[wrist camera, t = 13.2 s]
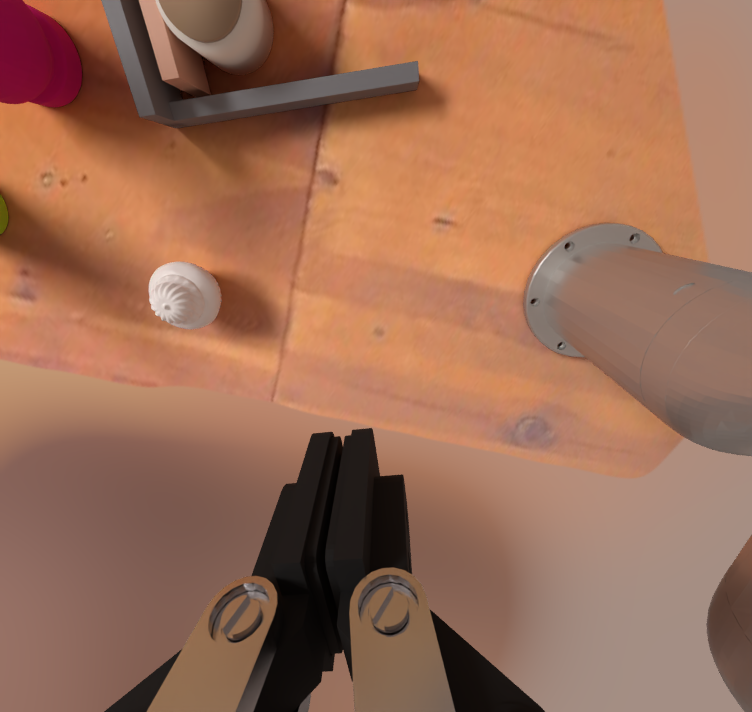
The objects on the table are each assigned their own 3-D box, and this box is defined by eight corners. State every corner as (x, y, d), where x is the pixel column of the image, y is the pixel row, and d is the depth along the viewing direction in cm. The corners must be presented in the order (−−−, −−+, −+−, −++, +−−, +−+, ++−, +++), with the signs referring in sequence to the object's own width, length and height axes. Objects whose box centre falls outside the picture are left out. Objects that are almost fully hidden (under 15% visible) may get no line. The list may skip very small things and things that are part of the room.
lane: (402, -119, 25) (405, -189, 20) (416, 89, 29) (422, 70, 25) (120, -61, 26) (63, -115, 22) (176, 128, 31) (139, 117, 26)
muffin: (247, 287, 36) (216, 308, 30) (211, 329, 38) (176, 357, 32) (193, 240, 34) (149, 252, 28) (159, 287, 36) (110, 307, 30)
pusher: (177, -38, 26) (133, -86, 22) (211, 95, 30) (179, 77, 25) (161, -34, 27) (114, -82, 22) (196, 97, 30) (162, 80, 25)
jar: (261, -34, 27) (229, -93, 21) (282, 68, 29) (257, 38, 23) (182, -17, 27) (130, -71, 22) (209, 81, 29) (168, 56, 24)
